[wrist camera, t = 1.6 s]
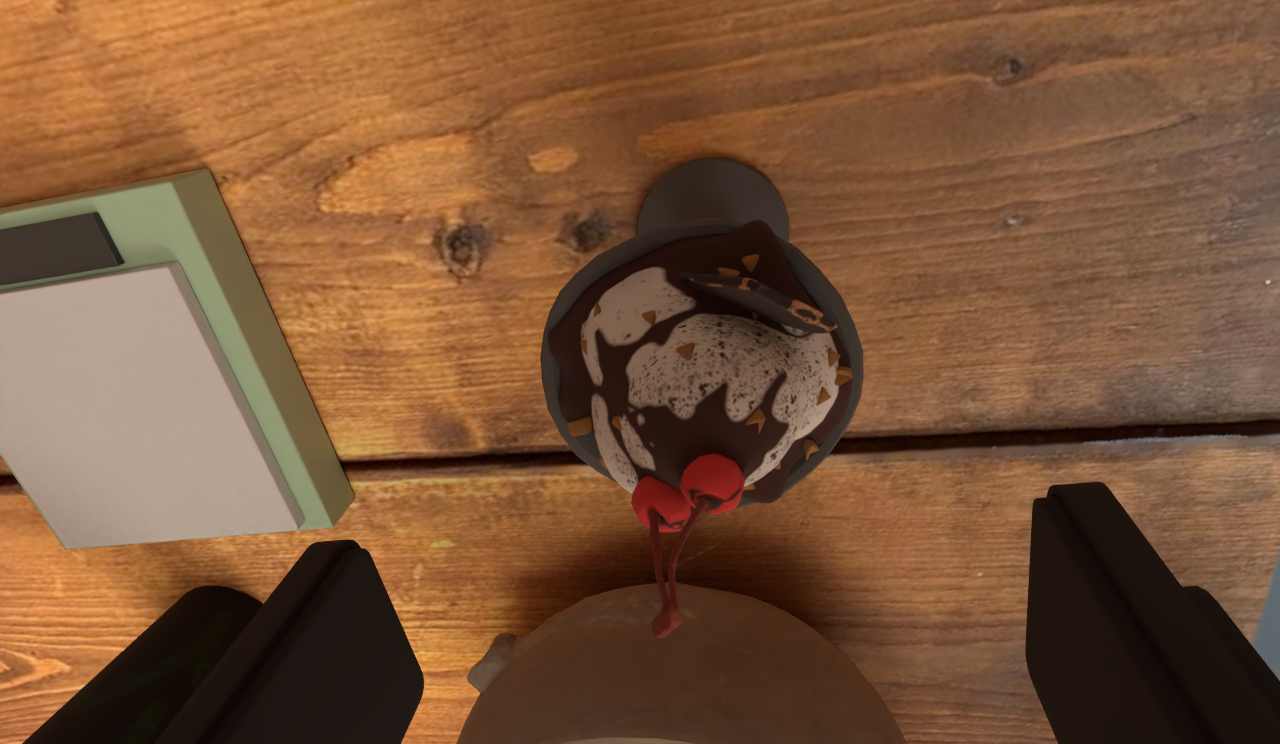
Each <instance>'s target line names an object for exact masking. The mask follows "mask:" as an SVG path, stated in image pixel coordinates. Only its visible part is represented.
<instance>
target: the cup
mask: <svg viewBox="0 0 1280 744" xmlns="http://www.w3.org/2000/svg"><path fill="white" fill-rule="evenodd" d="M261 607H262V604H261V603H260V602H259V601H257V600H255V599H253V598H251V597H250V596H248V595H246V594H244V593H241V592H238V591H236V590H233V589H229V588H224V587H219V586H205V587H200V588H195V589H193V590H191V591H189V592H187V593H186V594H185V595H183V596H182V597H181V598H180V599H179V600H178V601H177V602H176V603H175V604H174V605H173V606H172V607H170V608H169V609H168V610H167V611H166V612H165V613H164V614H163V615H162V616H161V617H160V618H158V619H157V620H156V621H155V622H154V623H153V624H152V625H151V626H150V627H149V628H148V629H146V630H145V631H144V632H143V633H142V634H141V635H140V636H139V637H138V638H137V639H136V640H135V641H133V642H132V643H131V644H130V645H129V646H128V647H127V648H126V649H125V650H124V651H123V652H121V653H120V654H119V655H118V656H117V657H116V658H115V659H114V660H113V661H112V662H111V663H109V664H108V665H107V666H106V667H105V668H104V669H103V670H102V671H101V672H100V673H99V674H98V675H96V676H95V677H94V678H93V679H92V680H91V681H90V682H89V683H88V684H87V685H86V686H84V687H83V688H82V689H81V690H80V691H79V692H78V693H77V694H76V695H75V696H74V697H72V698H71V699H70V700H69V701H68V702H67V703H66V704H65V705H64V706H63V707H62V708H60V709H59V710H58V711H57V712H56V713H55V714H54V715H53V716H52V717H51V718H50V719H49V720H47V721H46V722H45V723H44V724H43V725H42V726H41V727H40V728H39V729H38V730H37V731H35V732H34V733H33V734H32V735H31V736H30V737H29V738H28V739H27V740H26V741H25V742H23V743H22V744H154V743H155V742H156V741H157V739H158V738H159V737H160V735H161V734H162V733H163V732H164V730H165V729H166V728H167V726H168V725H169V724H170V723H171V721H172V720H173V719H174V718H175V716H176V715H177V714H178V712H179V711H180V710H181V709H182V707H183V706H184V705H185V704H186V702H187V701H188V700H189V698H190V697H191V696H192V695H193V693H194V692H195V691H196V690H197V688H198V687H199V686H200V684H201V683H202V682H203V681H204V679H205V678H206V677H207V676H208V674H209V673H210V672H211V670H212V669H213V668H214V667H215V665H216V664H217V663H218V661H219V660H220V659H221V658H222V656H223V655H224V654H225V653H226V651H227V650H228V649H229V647H230V646H231V645H232V644H233V642H234V641H235V640H236V639H237V637H238V636H239V635H240V633H241V632H242V631H243V630H244V628H245V627H246V626H247V625H248V623H249V622H250V621H251V619H252V618H253V617H254V616H255V614H256V613H257V612H258V611H259V609H260V608H261Z"/></svg>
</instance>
